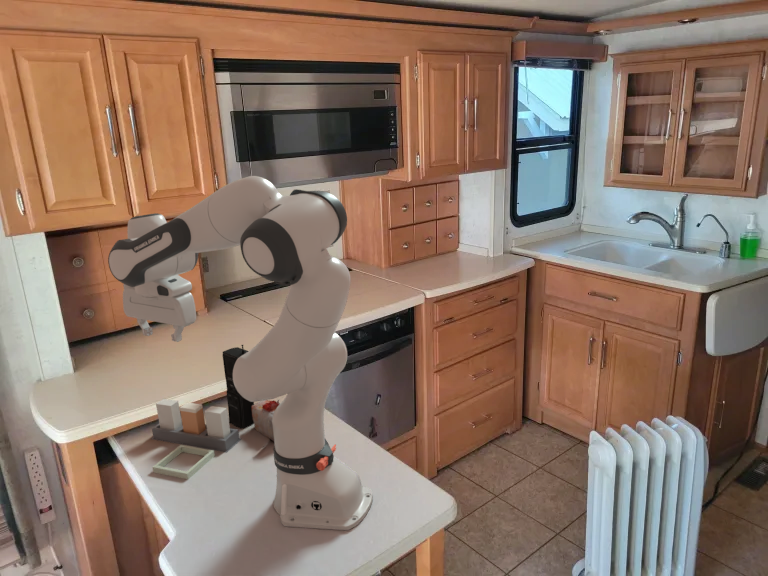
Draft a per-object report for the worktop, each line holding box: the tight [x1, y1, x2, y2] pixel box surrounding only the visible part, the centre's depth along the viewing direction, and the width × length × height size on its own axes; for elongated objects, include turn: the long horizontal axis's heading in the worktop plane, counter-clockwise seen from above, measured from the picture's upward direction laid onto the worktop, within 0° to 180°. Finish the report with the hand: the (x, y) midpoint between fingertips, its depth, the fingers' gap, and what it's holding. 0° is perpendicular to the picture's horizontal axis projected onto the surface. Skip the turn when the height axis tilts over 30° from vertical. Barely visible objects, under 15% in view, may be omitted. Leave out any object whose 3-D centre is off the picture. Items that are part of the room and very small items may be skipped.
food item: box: [252, 399, 281, 442], centre depth 157 cm, size 14×8×10 cm, turn 45°
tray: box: [152, 444, 216, 480], centre depth 144 cm, size 11×11×2 cm
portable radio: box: [222, 344, 255, 430], centre depth 161 cm, size 8×6×25 cm
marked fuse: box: [179, 401, 206, 435], centre depth 154 cm, size 5×3×10 cm, turn 70°
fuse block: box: [150, 398, 242, 453], centre depth 155 cm, size 25×7×11 cm, turn 70°
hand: (162, 337), depth 136 cm, fingers open, 8 cm apart
